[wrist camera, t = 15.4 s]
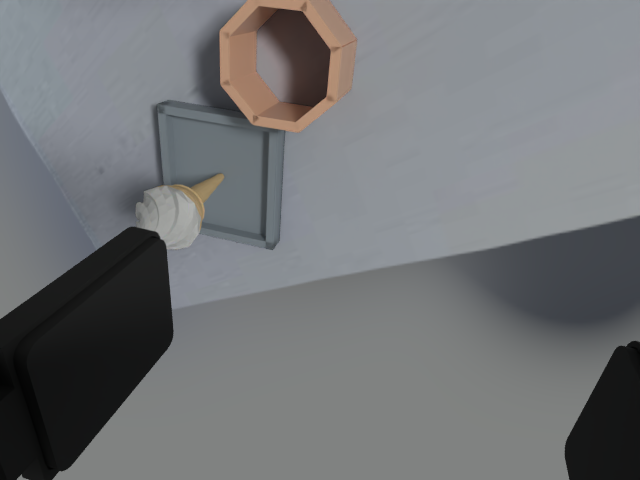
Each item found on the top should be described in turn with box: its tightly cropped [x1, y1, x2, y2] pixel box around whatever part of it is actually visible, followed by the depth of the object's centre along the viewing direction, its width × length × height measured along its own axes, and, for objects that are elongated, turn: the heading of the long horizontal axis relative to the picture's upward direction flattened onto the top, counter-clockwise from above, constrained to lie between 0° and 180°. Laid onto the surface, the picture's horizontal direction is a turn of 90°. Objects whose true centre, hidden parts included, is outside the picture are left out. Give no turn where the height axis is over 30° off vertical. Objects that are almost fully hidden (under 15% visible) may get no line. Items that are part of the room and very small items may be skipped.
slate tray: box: [157, 100, 285, 250], centre depth 47 cm, size 13×12×2 cm
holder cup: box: [219, 0, 357, 133], centre depth 38 cm, size 10×10×6 cm
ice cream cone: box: [136, 173, 224, 250], centre depth 40 cm, size 6×6×15 cm
